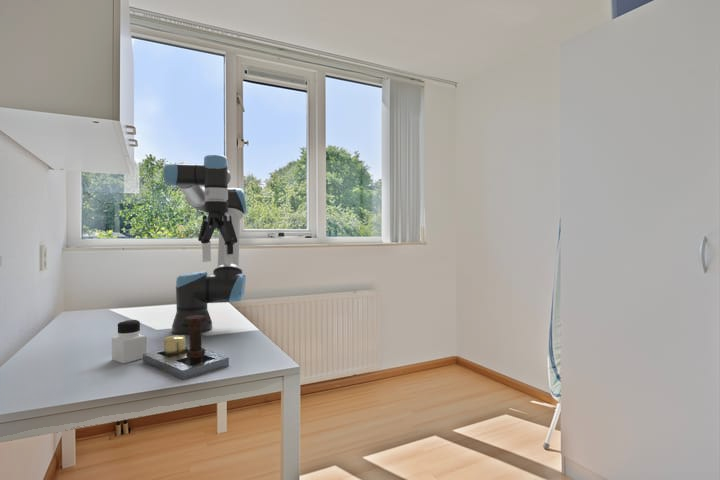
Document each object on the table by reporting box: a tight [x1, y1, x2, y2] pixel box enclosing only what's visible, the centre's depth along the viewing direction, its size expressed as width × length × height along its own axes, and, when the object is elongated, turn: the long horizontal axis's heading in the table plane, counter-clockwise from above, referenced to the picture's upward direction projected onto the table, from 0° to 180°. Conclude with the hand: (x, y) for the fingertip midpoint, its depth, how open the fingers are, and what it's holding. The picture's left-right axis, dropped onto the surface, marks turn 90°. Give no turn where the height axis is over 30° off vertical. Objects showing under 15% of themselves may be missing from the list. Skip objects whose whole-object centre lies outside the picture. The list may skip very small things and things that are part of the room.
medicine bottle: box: [111, 319, 147, 364], centre depth 125 cm, size 7×7×12 cm
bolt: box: [184, 315, 206, 366], centre depth 116 cm, size 6×5×15 cm
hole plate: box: [142, 334, 230, 381], centre depth 119 cm, size 24×14×7 cm, turn 52°
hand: (217, 262), depth 137 cm, fingers open, 13 cm apart
